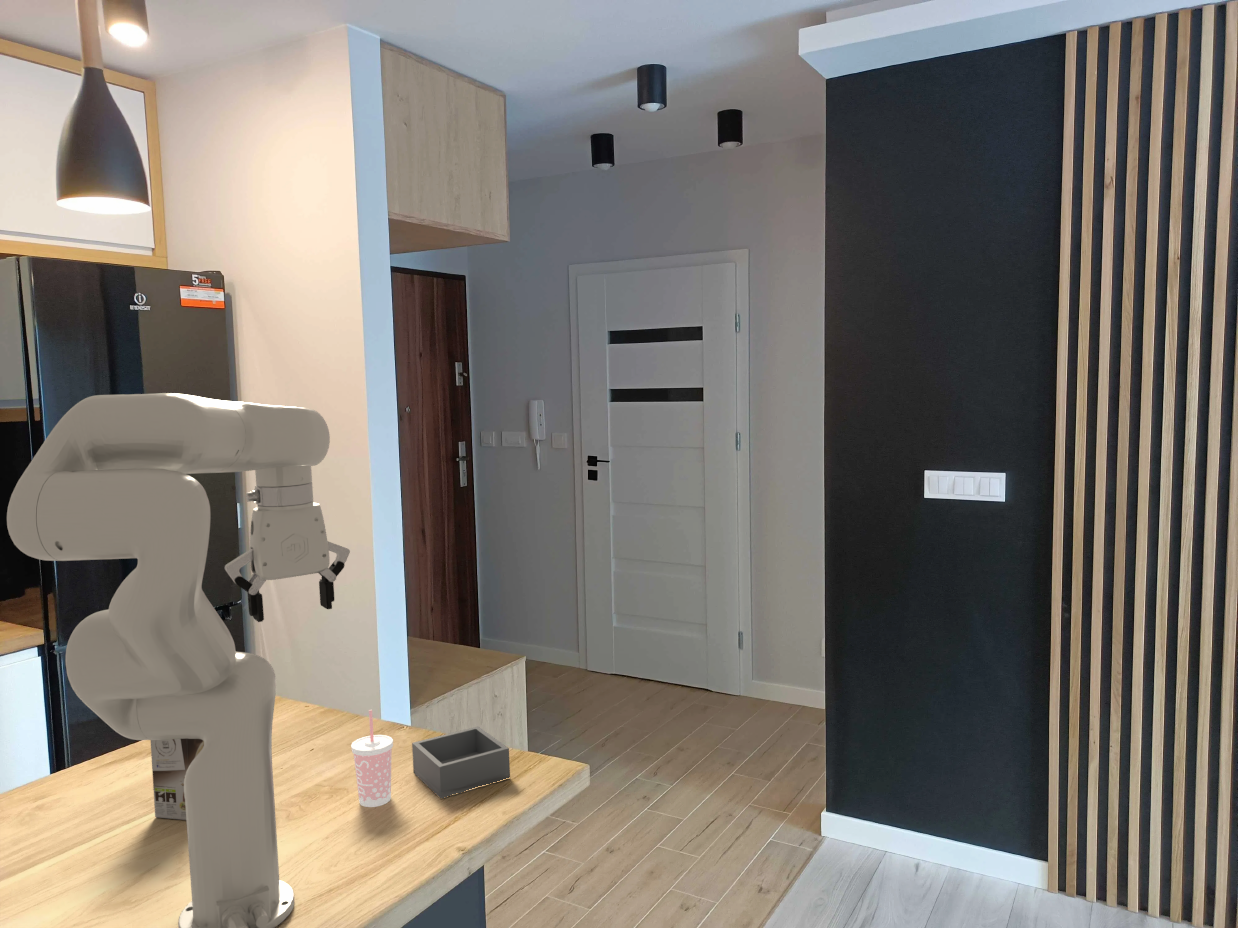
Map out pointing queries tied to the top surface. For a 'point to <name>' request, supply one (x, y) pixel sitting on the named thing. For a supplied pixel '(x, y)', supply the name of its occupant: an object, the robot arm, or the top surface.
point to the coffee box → (172, 774)
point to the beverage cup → (373, 767)
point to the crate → (460, 761)
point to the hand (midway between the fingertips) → (293, 613)
